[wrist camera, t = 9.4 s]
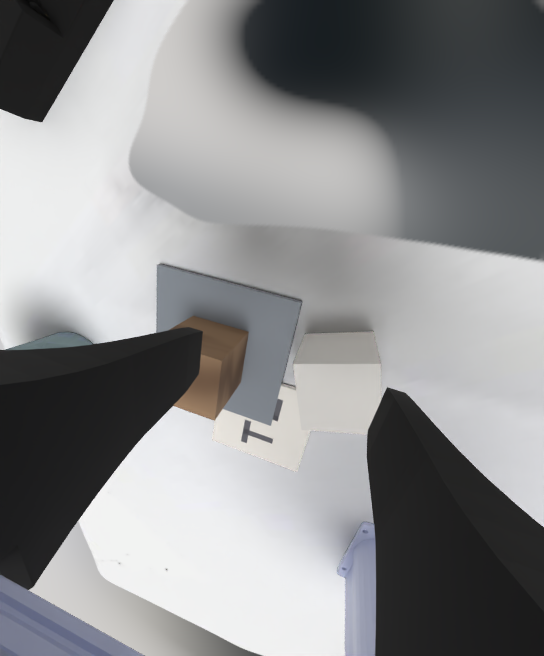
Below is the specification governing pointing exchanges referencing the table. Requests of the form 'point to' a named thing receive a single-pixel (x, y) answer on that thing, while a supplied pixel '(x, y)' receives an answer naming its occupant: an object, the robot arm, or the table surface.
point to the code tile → (267, 432)
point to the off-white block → (338, 381)
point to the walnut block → (215, 367)
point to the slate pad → (242, 313)
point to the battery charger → (42, 50)
